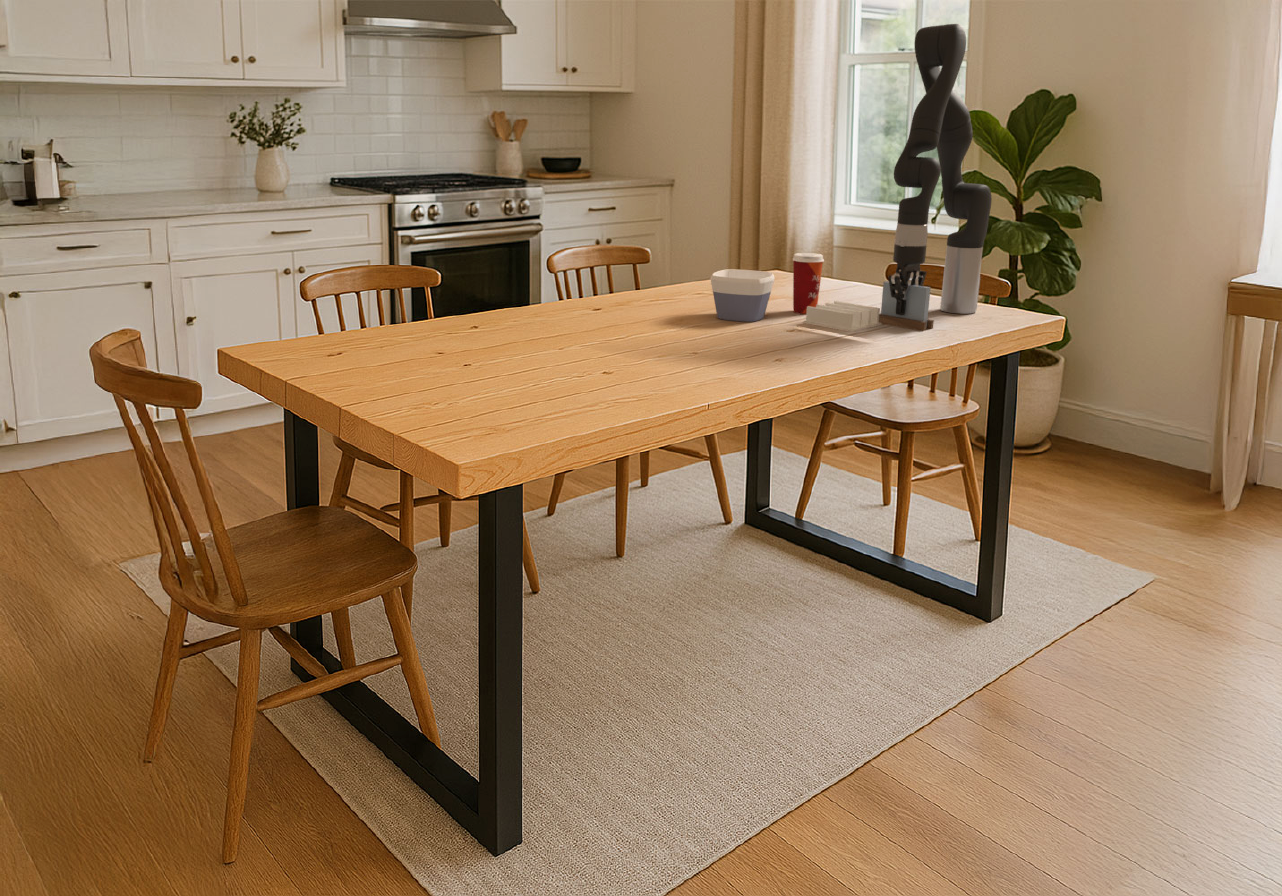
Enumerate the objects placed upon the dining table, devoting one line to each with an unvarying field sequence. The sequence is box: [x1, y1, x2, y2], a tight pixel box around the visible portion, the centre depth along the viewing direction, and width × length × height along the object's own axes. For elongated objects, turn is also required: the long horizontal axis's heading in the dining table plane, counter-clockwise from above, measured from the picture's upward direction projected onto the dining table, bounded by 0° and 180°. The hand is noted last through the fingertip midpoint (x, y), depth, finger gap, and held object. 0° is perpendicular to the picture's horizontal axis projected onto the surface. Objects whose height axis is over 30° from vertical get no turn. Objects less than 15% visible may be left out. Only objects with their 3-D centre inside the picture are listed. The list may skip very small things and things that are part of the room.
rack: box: [802, 300, 882, 332], centre depth 267 cm, size 13×14×5 cm
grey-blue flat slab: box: [880, 280, 931, 328], centre depth 265 cm, size 2×12×10 cm, turn 45°
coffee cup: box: [791, 252, 825, 315], centre depth 284 cm, size 8×8×15 cm
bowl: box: [709, 268, 776, 323], centre depth 275 cm, size 15×15×11 cm
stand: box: [879, 313, 935, 332], centre depth 267 cm, size 5×14×3 cm, turn 45°
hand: (904, 313), depth 266 cm, fingers open, 3 cm apart
